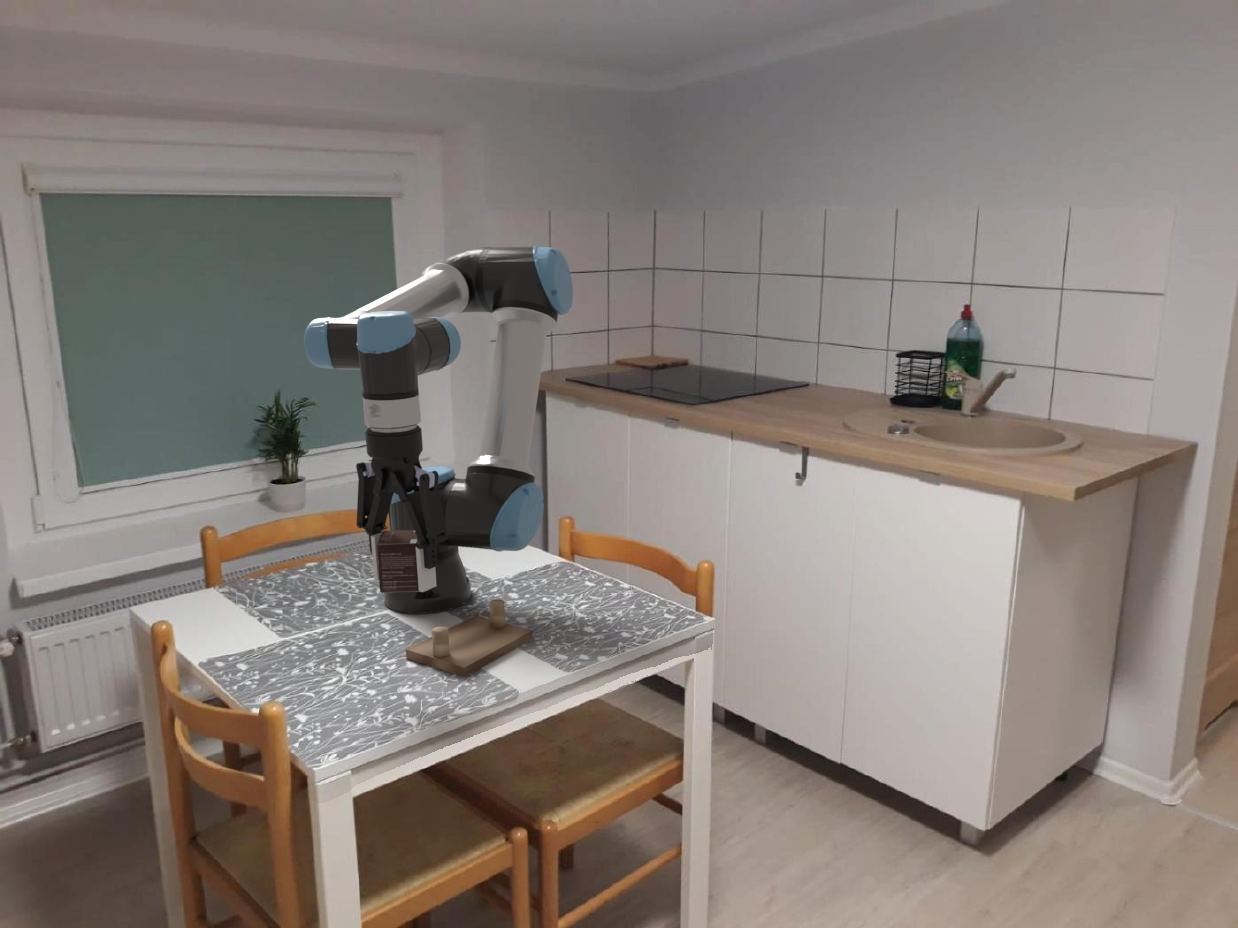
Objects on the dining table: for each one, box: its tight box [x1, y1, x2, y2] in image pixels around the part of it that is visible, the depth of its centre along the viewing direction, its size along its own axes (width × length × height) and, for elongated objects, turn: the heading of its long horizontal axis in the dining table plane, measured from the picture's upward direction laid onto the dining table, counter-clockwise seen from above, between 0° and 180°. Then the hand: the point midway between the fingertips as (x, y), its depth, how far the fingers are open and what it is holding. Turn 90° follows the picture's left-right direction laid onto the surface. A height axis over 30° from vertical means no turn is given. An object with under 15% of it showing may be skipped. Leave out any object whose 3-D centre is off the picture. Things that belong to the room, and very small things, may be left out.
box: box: [377, 530, 420, 594], centre depth 139 cm, size 6×6×7 cm
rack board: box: [405, 598, 534, 678], centre depth 153 cm, size 12×16×6 cm
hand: (405, 582), depth 140 cm, fingers closed on box, 8 cm apart
